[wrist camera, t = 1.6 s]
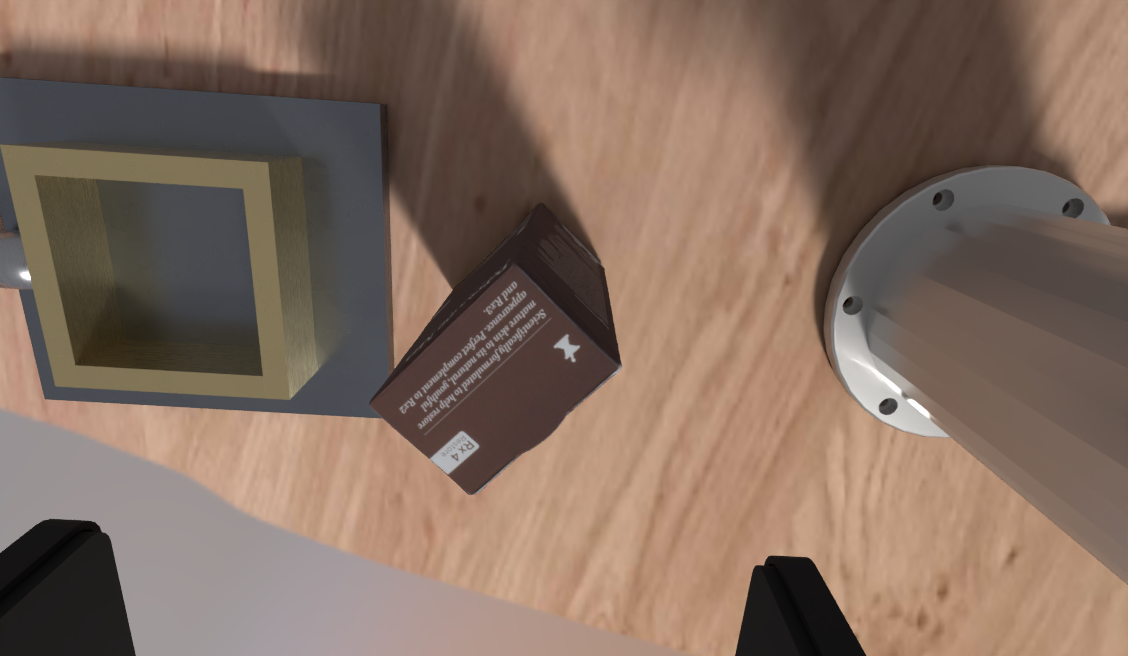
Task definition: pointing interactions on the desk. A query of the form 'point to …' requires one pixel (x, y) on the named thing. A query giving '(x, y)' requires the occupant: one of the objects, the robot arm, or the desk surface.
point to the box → (505, 355)
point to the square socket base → (199, 246)
